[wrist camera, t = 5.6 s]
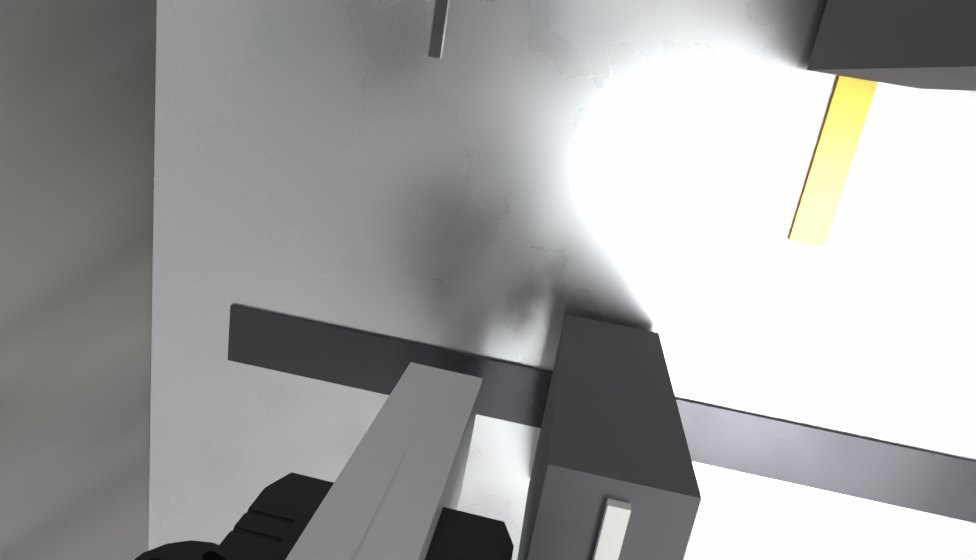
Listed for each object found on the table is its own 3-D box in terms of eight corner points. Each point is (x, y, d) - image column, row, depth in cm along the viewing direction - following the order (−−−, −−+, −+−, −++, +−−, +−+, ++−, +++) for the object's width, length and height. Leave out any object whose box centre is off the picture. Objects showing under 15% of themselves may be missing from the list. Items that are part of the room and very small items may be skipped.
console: (219, -348, 14) (158, -418, 12) (1515, -189, 12) (1699, -242, 10) (188, 538, 21) (145, 587, 19) (1019, 740, 19) (1071, 820, 17)
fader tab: (564, 314, 15) (547, 471, 9) (659, 333, 15) (703, 505, 9) (528, 489, 16) (491, 725, 10) (613, 508, 16) (626, 760, 10)
